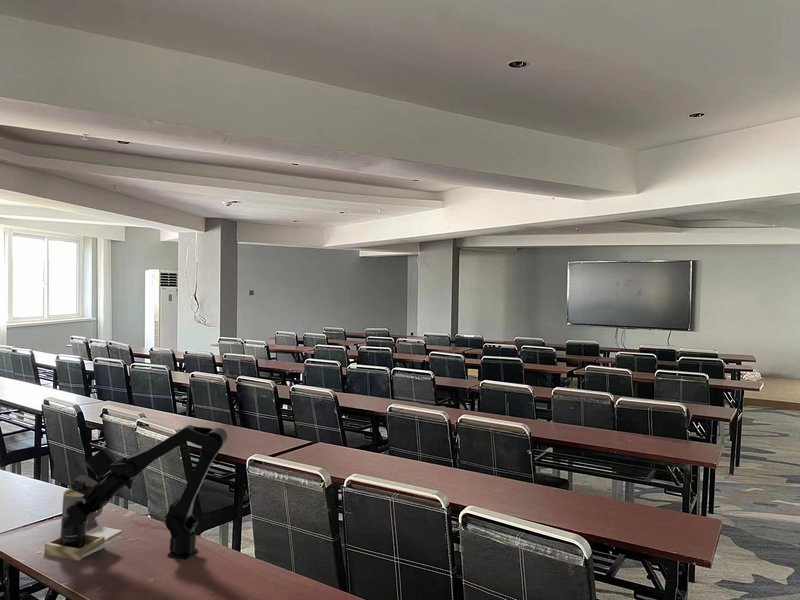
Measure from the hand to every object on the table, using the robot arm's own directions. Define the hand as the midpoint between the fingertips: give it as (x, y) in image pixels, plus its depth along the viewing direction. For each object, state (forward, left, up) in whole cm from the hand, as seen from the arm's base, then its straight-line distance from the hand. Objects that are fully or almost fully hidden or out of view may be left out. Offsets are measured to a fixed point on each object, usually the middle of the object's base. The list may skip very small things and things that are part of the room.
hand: (69, 522), depth 172 cm
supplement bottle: (-1, 0, -7) cm, 7 cm away
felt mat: (-1, -12, -8) cm, 14 cm away
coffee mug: (+11, -18, -8) cm, 22 cm away
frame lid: (-11, 0, -8) cm, 14 cm away
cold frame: (-2, 0, -8) cm, 8 cm away
